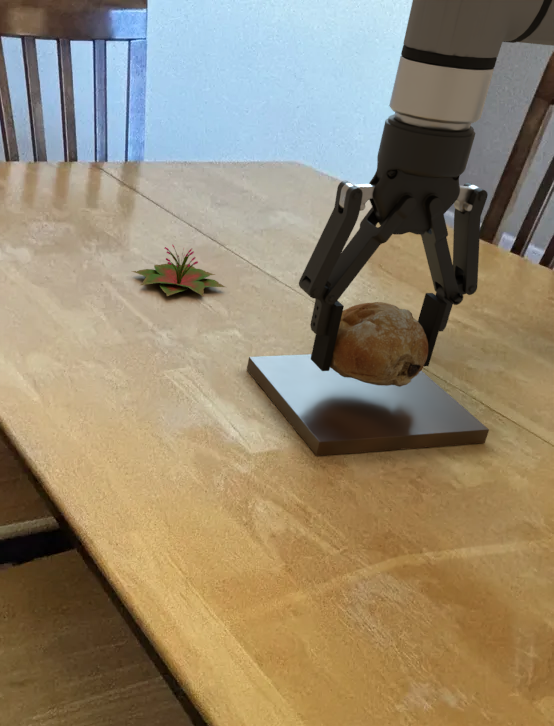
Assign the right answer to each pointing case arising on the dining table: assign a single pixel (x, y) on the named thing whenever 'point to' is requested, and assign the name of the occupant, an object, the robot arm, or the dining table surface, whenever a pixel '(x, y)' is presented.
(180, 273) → the lily flower
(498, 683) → the dining table surface
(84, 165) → the dining table surface
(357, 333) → the bread roll
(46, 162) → the dining table surface
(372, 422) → the cutting board
